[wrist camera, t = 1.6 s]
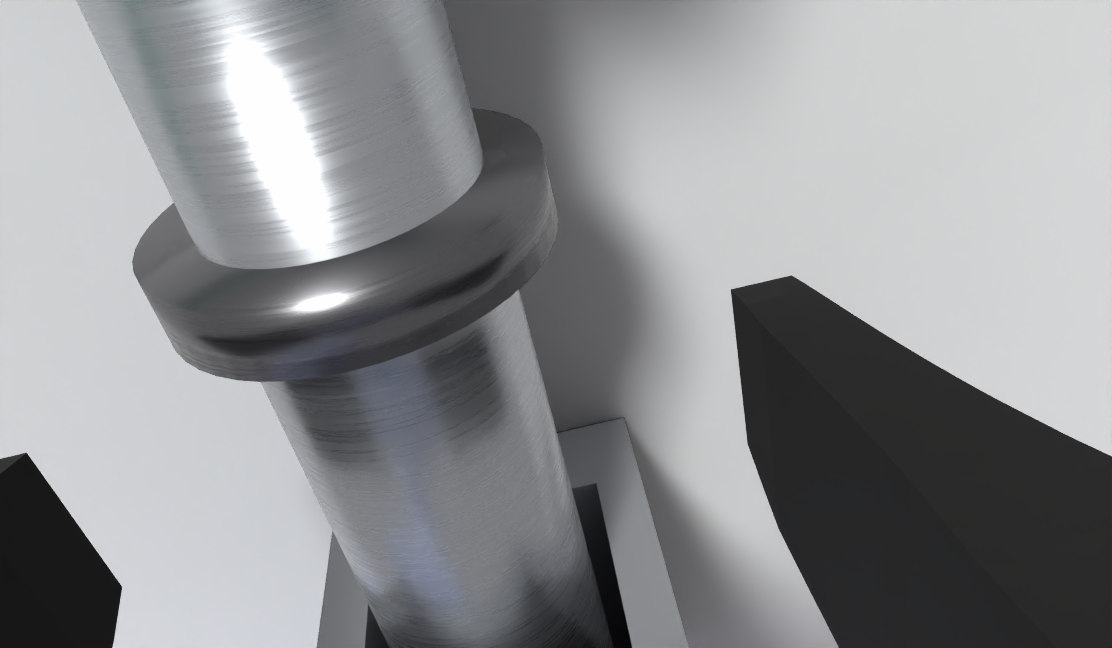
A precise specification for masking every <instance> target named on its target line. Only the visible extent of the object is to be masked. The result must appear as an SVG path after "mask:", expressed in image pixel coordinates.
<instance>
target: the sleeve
mask: <svg viewBox="0 0 1112 648" xmlns="http://www.w3.org/2000/svg"><path fill="white" fill-rule="evenodd" d="M557 435H558V439H559V443H560V446H561V450H562V454H563V458H564V461H565V465H566V469H567V473H568V477H569V480H570V484H571V488H572V492H573V495H574V499H575V503H576V507H577V511H578V514H579V518H580V522H581V526H582V530H583V533H584V537H585V541H586V545H587V548H588V552H589V556H590V560H591V564H592V567H593V571H594V575H595V579H596V582H597V586H598V590H599V594H600V598H601V601H602V605H603V609H604V613H605V617H606V620H607V624H608V628H609V632H610V635H611V639H612V643H613V647H614V648H689V646H688V642H687V638H686V635H685V631H684V628H683V624H682V621H681V617H680V614H679V610H678V607H677V603H676V600H675V596H674V592H673V589H672V585H671V582H670V578H669V575H668V571H667V568H666V564H665V561H664V557H663V554H662V550H661V546H660V543H659V539H658V536H657V532H656V529H655V525H654V522H653V518H652V515H651V511H650V508H649V504H648V501H647V497H646V493H645V490H644V486H643V483H642V479H641V476H640V472H639V469H638V465H637V462H636V458H635V455H634V451H633V447H632V444H631V440H630V437H629V433H628V430H627V426H626V423H625V419H624V418H620V419H616V420H612V421H607V422H603V423H599V424H594V425H590V426H586V427H581V428H577V429H573V430H569V431H564V432H560V433H557ZM317 648H389V646H388V644H387V642H386V639H385V637H384V635H383V633H382V631H381V629H380V627H379V625H378V623H377V621H376V619H375V617H374V615H373V613H372V611H371V608H370V606H369V604H368V602H367V600H366V598H365V596H364V594H363V592H362V590H361V588H360V586H359V584H358V582H357V580H356V578H355V575H354V573H353V571H352V569H351V567H350V565H349V563H348V561H347V559H346V557H345V555H344V553H343V551H342V549H341V547H340V544H339V542H338V540H337V538H336V536H335V534H334V532H333V531H332V539H331V546H330V553H329V561H328V568H327V576H326V583H325V591H324V598H323V605H322V613H321V620H320V628H319V635H318V642H317Z"/></svg>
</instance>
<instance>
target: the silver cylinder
mask: <svg viewBox="0 0 1112 648" xmlns="http://www.w3.org/2000/svg"><path fill="white" fill-rule="evenodd" d="M76 1H77V3H78V5H79V7H80V9H81V11H82V14H83V16H84V18H85V20H86V22H87V24H88V26H89V28H90V30H91V32H92V34H93V36H94V38H95V40H96V42H97V45H98V47H99V49H100V51H101V53H102V55H103V57H104V59H105V61H106V63H107V65H108V67H109V69H110V71H111V73H112V75H113V78H114V80H115V82H116V84H117V86H118V88H119V90H120V92H121V94H122V96H123V98H124V100H125V102H126V104H127V106H128V109H129V111H130V113H131V115H132V117H133V119H134V121H135V123H136V125H137V127H138V129H139V131H140V133H141V135H142V137H143V140H144V142H145V144H146V146H147V148H148V150H149V152H150V154H151V156H152V158H153V160H154V162H155V164H156V166H157V168H158V171H159V173H160V175H161V177H162V179H163V181H164V183H165V185H166V187H167V189H168V191H169V193H170V195H171V197H172V199H173V202H174V203H173V204H172V205H171V206H170V207H168V208H167V209H166V210H165V211H164V212H163V213H161V215H160V216H159V217H158V218H157V219H156V220H155V221H154V222H153V223H152V224H151V225H150V226H149V228H148V229H147V230H146V232H145V233H144V234H143V236H142V237H141V239H140V241H139V243H138V245H137V247H136V249H135V252H134V257H133V271H134V274H135V276H136V278H137V280H138V282H139V284H140V286H141V287H142V289H143V291H144V293H145V295H146V297H147V299H148V300H149V302H150V304H151V306H152V308H153V310H154V312H155V313H156V315H157V317H158V319H159V321H160V323H161V325H162V326H163V328H164V330H165V332H166V334H167V336H168V338H169V339H170V341H171V343H172V345H173V347H174V349H175V351H176V352H177V353H178V354H179V355H180V356H181V357H182V358H183V359H184V360H185V361H186V362H187V363H189V364H191V365H192V366H194V367H196V368H197V369H199V370H202V371H204V372H207V373H210V374H213V375H215V376H219V377H225V378H230V379H235V380H243V381H257V382H261V383H262V385H263V387H264V390H265V392H266V394H267V396H268V398H269V400H270V402H271V404H272V406H273V408H274V410H275V412H276V414H277V416H278V418H279V421H280V423H281V425H282V427H283V429H284V431H285V433H286V435H287V437H288V439H289V441H290V443H291V445H292V447H293V449H294V451H295V454H296V456H297V458H298V460H299V462H300V464H301V466H302V468H303V470H304V472H305V474H306V476H307V478H308V480H309V482H310V485H311V487H312V489H313V491H314V493H315V495H316V497H317V499H318V501H319V503H320V505H321V507H322V509H323V511H324V513H325V516H326V518H327V520H328V522H329V524H330V526H331V528H332V530H333V532H334V534H335V536H336V538H337V540H338V542H339V544H340V547H341V549H342V551H343V553H344V555H345V557H346V559H347V561H348V563H349V565H350V567H351V569H352V571H353V573H354V575H355V578H356V580H357V582H358V584H359V586H360V588H361V590H362V592H363V594H364V596H365V598H366V600H367V602H368V604H369V606H370V608H371V611H372V613H373V615H374V617H375V619H376V621H377V623H378V625H379V627H380V629H381V631H382V633H383V635H384V637H385V639H386V642H387V644H388V646H389V648H614V647H613V643H612V639H611V635H610V632H609V628H608V624H607V620H606V617H605V613H604V609H603V605H602V601H601V598H600V594H599V590H598V586H597V582H596V579H595V575H594V571H593V567H592V564H591V560H590V556H589V552H588V548H587V545H586V541H585V537H584V533H583V530H582V526H581V522H580V518H579V514H578V511H577V507H576V503H575V499H574V495H573V492H572V488H571V484H570V480H569V477H568V473H567V469H566V465H565V461H564V458H563V454H562V450H561V446H560V443H559V439H558V435H557V431H556V427H555V424H554V420H553V416H552V412H551V408H550V405H549V401H548V397H547V393H546V390H545V386H544V382H543V378H542V374H541V371H540V367H539V363H538V359H537V356H536V352H535V348H534V344H533V340H532V337H531V333H530V329H529V325H528V321H527V318H526V314H525V310H524V306H523V303H522V299H521V295H520V291H519V289H520V288H521V287H522V286H523V285H524V284H525V283H526V282H528V280H529V279H530V278H531V277H532V276H533V275H534V274H535V272H536V271H537V270H538V269H539V268H540V267H541V265H542V264H543V262H544V261H545V259H546V258H547V256H548V255H549V253H550V252H551V249H552V247H553V244H554V242H555V239H556V236H557V230H558V216H557V210H556V205H555V201H554V197H553V192H552V188H551V183H550V179H549V174H548V170H547V165H546V161H545V156H544V152H543V147H542V143H541V141H540V139H539V137H538V134H537V133H536V132H535V131H534V130H533V129H532V128H531V127H530V126H529V125H527V124H526V123H524V122H523V121H521V120H519V119H517V118H514V117H512V116H510V115H507V114H503V113H499V112H495V111H489V110H482V109H473V108H471V106H470V102H469V98H468V94H467V91H466V87H465V83H464V79H463V76H462V72H461V68H460V64H459V60H458V57H457V53H456V49H455V45H454V42H453V38H452V34H451V30H450V26H449V23H448V19H447V15H446V11H445V7H444V4H443V0H76Z"/></svg>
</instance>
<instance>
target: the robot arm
mask: <svg viewBox="0 0 1112 648" xmlns="http://www.w3.org/2000/svg"><path fill="white" fill-rule="evenodd" d="M731 295H732V304H733V313H734V322H735V331H736V340H737V350H738V359H739V368H740V377H741V386H742V395H743V405H744V414H745V423H746V432H747V441H748V446H749V449H750V451H751V454H752V457H753V460H754V463H755V465H756V468H757V471H758V474H759V477H760V479H761V482H762V485H763V488H764V491H765V493H766V496H767V499H768V501H769V504H770V507H771V509H772V512H773V515H774V517H775V520H776V523H777V525H778V528H779V530H780V532H781V534H782V536H783V538H784V540H785V542H786V544H787V546H788V548H789V550H790V552H791V554H792V556H793V558H794V560H795V562H796V564H797V566H798V568H799V570H800V572H801V574H802V576H803V578H804V580H805V582H806V584H807V586H808V588H809V590H810V592H811V594H812V596H813V598H814V600H815V602H816V604H817V605H818V607H819V609H820V611H821V613H822V615H823V617H824V619H825V621H826V623H827V625H828V627H829V629H830V631H831V633H832V635H833V637H834V639H835V641H836V643H837V645H838V646H839V648H1112V456H1110V455H1108V454H1105V453H1103V452H1101V451H1099V450H1097V449H1095V448H1093V447H1090V446H1088V445H1086V444H1084V443H1082V442H1080V441H1078V440H1075V439H1073V438H1071V437H1069V436H1067V435H1065V434H1063V433H1061V432H1059V431H1057V430H1055V429H1053V428H1051V427H1050V426H1048V425H1046V424H1044V423H1042V422H1040V421H1038V420H1036V419H1034V418H1032V417H1030V416H1028V415H1026V414H1024V413H1022V412H1020V411H1018V410H1016V409H1014V408H1012V407H1010V406H1009V405H1007V404H1005V403H1003V402H1001V401H999V400H997V399H995V398H993V397H991V396H990V395H988V394H986V393H984V392H982V391H980V390H979V389H977V388H975V387H973V386H971V385H970V384H968V383H966V382H964V381H962V380H960V379H959V378H957V377H955V376H954V375H952V374H950V373H948V372H947V371H945V370H943V369H941V368H940V367H938V366H936V365H934V364H933V363H931V362H929V361H928V360H926V359H924V358H923V357H921V356H919V355H917V354H916V353H914V352H912V351H911V350H909V349H907V348H906V347H904V346H903V345H901V344H899V343H898V342H896V341H894V340H893V339H891V338H889V337H888V336H886V335H885V334H883V333H881V332H880V331H878V330H877V329H875V328H873V327H872V326H870V325H869V324H867V323H866V322H864V321H862V320H861V319H859V318H858V317H856V316H854V315H853V314H851V313H850V312H848V311H847V310H845V309H844V308H842V307H840V306H839V305H837V304H836V303H834V302H833V301H831V300H830V299H828V298H827V297H825V296H823V295H822V294H820V293H819V292H817V291H816V290H814V289H813V288H811V287H809V286H808V285H806V284H805V283H803V282H801V281H800V280H798V279H797V278H795V277H793V276H787V277H783V278H779V279H774V280H770V281H766V282H762V283H757V284H753V285H749V286H744V287H740V288H736V289H731ZM121 591H122V586H121V585H120V583H119V582H118V581H117V579H116V578H115V576H114V575H113V574H112V572H111V571H110V569H109V568H108V567H107V565H106V564H105V562H104V561H103V560H102V558H101V557H100V555H99V554H98V552H97V551H96V550H95V548H94V547H93V545H92V544H91V543H90V541H89V540H88V538H87V537H86V536H85V534H84V533H83V531H82V530H81V529H80V527H79V526H78V524H77V523H76V522H75V520H74V519H73V517H72V516H71V515H70V513H69V512H68V510H67V509H66V508H65V506H64V505H63V503H62V502H61V500H60V499H59V498H58V496H57V495H56V493H55V492H54V491H53V489H52V488H51V486H50V485H49V484H48V482H47V481H46V479H45V478H44V477H43V475H42V474H41V472H40V471H39V470H38V468H37V467H36V465H35V464H34V463H33V461H32V460H31V458H30V457H29V456H28V454H27V453H24V454H20V455H15V456H11V457H7V458H2V459H0V648H112V646H113V641H114V636H115V629H116V623H117V616H118V610H119V604H120V597H121Z"/></svg>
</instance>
